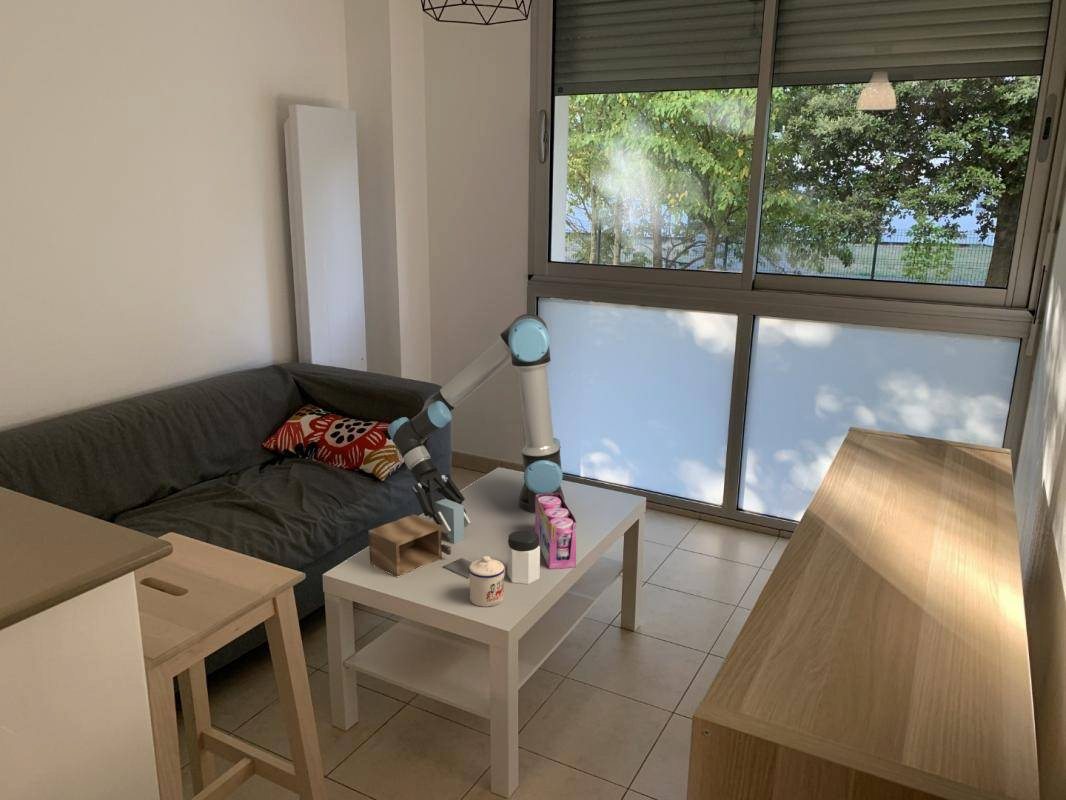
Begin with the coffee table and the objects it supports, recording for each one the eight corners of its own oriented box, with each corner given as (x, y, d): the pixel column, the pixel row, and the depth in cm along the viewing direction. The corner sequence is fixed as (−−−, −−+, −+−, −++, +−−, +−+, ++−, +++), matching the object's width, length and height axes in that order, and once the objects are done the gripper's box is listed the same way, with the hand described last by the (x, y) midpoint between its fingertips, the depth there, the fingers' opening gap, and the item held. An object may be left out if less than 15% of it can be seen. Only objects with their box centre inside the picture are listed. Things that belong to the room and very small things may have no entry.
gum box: (578, 570, 227) (579, 524, 224) (549, 572, 226) (550, 526, 222) (559, 534, 250) (560, 492, 246) (534, 536, 249) (534, 494, 245)
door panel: (436, 536, 248) (435, 502, 245) (446, 532, 251) (445, 498, 248) (454, 544, 243) (453, 509, 240) (464, 539, 246) (463, 505, 243)
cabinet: (423, 542, 244) (422, 510, 241) (486, 570, 226) (486, 536, 224) (369, 563, 230) (368, 530, 227) (432, 595, 212) (431, 559, 210)
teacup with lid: (490, 611, 205) (490, 568, 202) (461, 601, 210) (461, 559, 207) (517, 592, 214) (518, 551, 211) (489, 583, 219) (489, 542, 216)
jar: (523, 566, 229) (523, 526, 225) (545, 576, 223) (546, 535, 220) (501, 577, 222) (500, 536, 219) (523, 587, 217) (523, 545, 214)
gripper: (439, 462, 259) (476, 524, 253) (389, 479, 245) (426, 545, 239) (450, 450, 255) (488, 513, 248) (399, 466, 240) (438, 533, 234)
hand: (457, 528), depth 243 cm, fingers open, 7 cm apart
